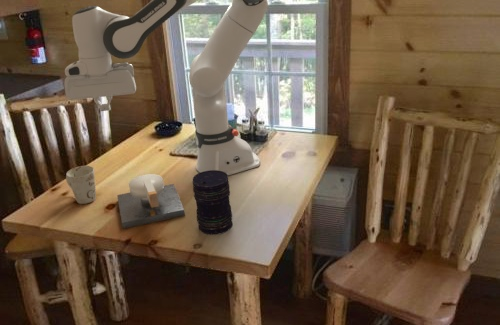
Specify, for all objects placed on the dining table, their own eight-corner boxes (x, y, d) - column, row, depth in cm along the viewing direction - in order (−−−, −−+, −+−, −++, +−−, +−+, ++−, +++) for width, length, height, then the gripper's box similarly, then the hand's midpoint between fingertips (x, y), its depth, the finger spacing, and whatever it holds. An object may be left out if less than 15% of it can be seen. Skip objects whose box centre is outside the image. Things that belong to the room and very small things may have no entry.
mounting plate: (174, 189, 163) (172, 173, 160) (185, 215, 147) (182, 198, 144) (118, 200, 158) (114, 184, 156) (123, 228, 142) (119, 211, 140)
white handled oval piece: (128, 187, 153) (125, 172, 151) (160, 180, 156) (158, 165, 154) (137, 214, 137) (134, 198, 135) (173, 205, 140) (170, 189, 138)
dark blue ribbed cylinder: (211, 213, 147) (205, 167, 141) (239, 220, 142) (235, 173, 136) (191, 230, 139) (184, 182, 133) (220, 238, 135) (215, 189, 128)
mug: (85, 208, 155) (78, 179, 151) (58, 199, 161) (51, 171, 157) (105, 196, 161) (99, 168, 157) (79, 188, 168) (72, 161, 164)
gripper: (133, 59, 149) (141, 103, 154) (63, 65, 147) (73, 110, 153) (131, 64, 143) (139, 110, 149) (58, 71, 141) (69, 117, 147)
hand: (105, 110), depth 151 cm, fingers closed
